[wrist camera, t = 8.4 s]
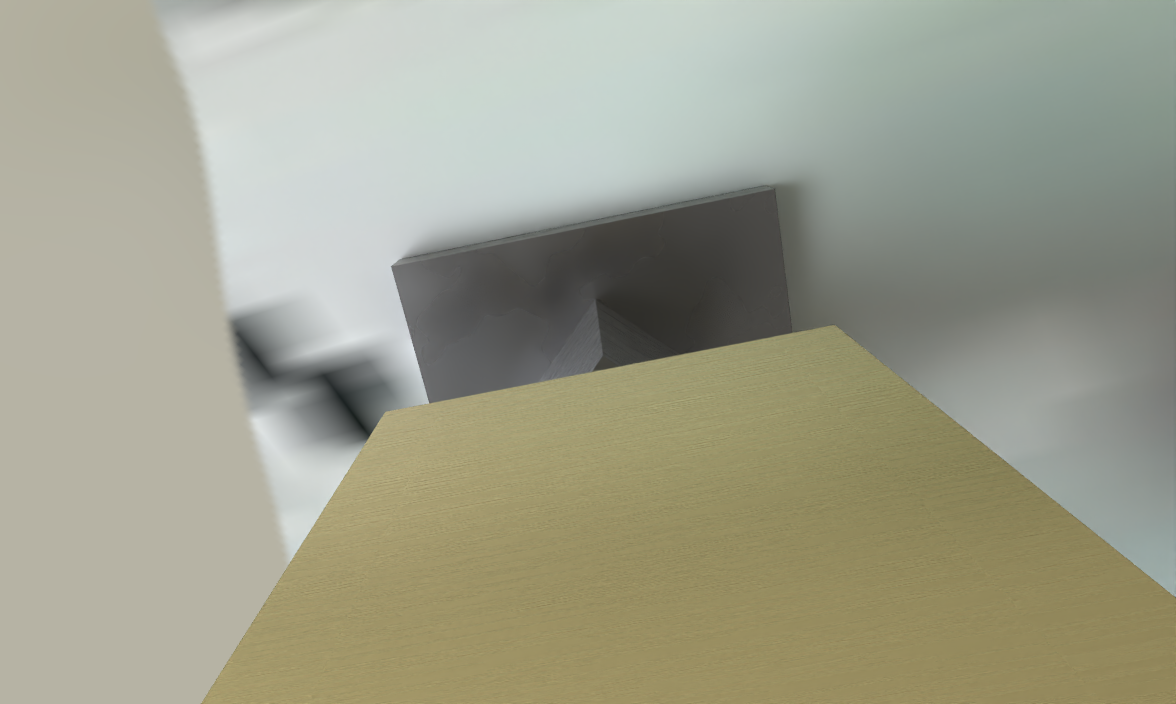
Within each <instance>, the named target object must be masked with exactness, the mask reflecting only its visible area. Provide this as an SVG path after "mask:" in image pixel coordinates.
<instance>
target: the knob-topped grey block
mask: <svg viewBox="0 0 1176 704" xmlns="http://www.w3.org/2000/svg"><path fill="white" fill-rule="evenodd" d="M391 267H392V271H393V275H394V278H395V282H396V285H397V289H398V292H399V296H400V300H401V303H402V307H403V310H404V314H405V318H406V321H407V325H408V328H409V332H410V335H411V339H412V343H413V346H414V350H415V353H416V357H417V361H418V364H419V368H420V371H421V375H422V378H423V382H424V386H425V389H426V393H427V396H428V400H429V403H434V402H440V401H445V400H450V399H455V398H460V397H465V396H471V395H476V394H481V393H486V392H491V391H496V390H501V389H507V388H512V387H517V386H522V385H527V384H532V383H538V382H543V381H548V380H553V379H558V378H563V377H568V376H574V375H579V374H584V373H589V372H594V371H599V370H605V369H610V368H615V367H620V366H625V365H630V364H635V363H641V362H646V361H651V360H656V359H661V358H666V357H672V356H677V355H682V354H687V353H692V352H697V351H702V350H708V349H713V348H718V347H723V346H728V345H733V344H739V343H744V342H749V341H754V340H759V339H764V338H769V337H775V336H780V335H785V334H790V333H792V326H791V318H790V310H789V302H788V294H787V285H786V277H785V269H784V261H783V253H782V245H781V236H780V228H779V220H778V212H777V204H776V196H775V189H774V188H771V187H768V186H760V187H755V188H750V189H745V190H741V191H736V192H731V193H726V194H721V195H716V196H711V197H706V198H701V199H696V200H691V201H686V202H681V203H676V204H671V205H667V206H662V207H657V208H652V209H647V210H642V211H637V212H632V213H627V214H622V215H617V216H612V217H607V218H602V219H597V220H592V221H588V222H583V223H578V224H573V225H568V226H563V227H558V228H553V229H548V230H543V231H538V232H533V233H528V234H523V235H518V236H513V237H509V238H504V239H499V240H494V241H489V242H484V243H479V244H474V245H469V246H464V247H459V248H454V249H449V250H444V251H439V252H435V253H430V254H425V255H420V256H415V257H410V258H405V259H400V260H398V261H397V262H396V263H395V264H394V265H392V266H391Z"/></svg>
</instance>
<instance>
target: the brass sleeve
mask: <svg viewBox="0 0 1176 704" xmlns="http://www.w3.org/2000/svg"><path fill="white" fill-rule="evenodd" d="M201 704H1176V598H1175V597H1174V596H1173V595H1172V594H1170V593H1169V592H1168V591H1167V590H1165V589H1164V588H1163V587H1162V586H1160V585H1159V584H1158V583H1157V582H1155V581H1154V580H1153V579H1152V578H1150V577H1149V576H1148V575H1147V574H1145V573H1144V572H1143V571H1142V570H1140V569H1139V568H1138V567H1137V566H1135V565H1134V564H1133V563H1132V562H1130V561H1129V560H1128V559H1127V558H1125V557H1124V556H1123V555H1122V554H1120V553H1119V552H1118V551H1117V550H1115V549H1114V548H1113V547H1112V546H1110V545H1109V544H1108V543H1107V542H1105V541H1104V540H1103V539H1102V538H1100V537H1099V536H1098V535H1097V534H1095V533H1094V532H1093V531H1092V530H1090V529H1089V528H1088V527H1087V526H1085V525H1084V524H1083V523H1082V522H1080V521H1079V520H1078V519H1077V518H1075V517H1074V516H1073V515H1072V514H1070V513H1069V512H1068V511H1067V510H1065V509H1064V508H1063V507H1062V506H1060V505H1059V504H1058V503H1057V502H1055V501H1054V500H1053V499H1052V498H1050V497H1049V496H1048V495H1047V494H1045V493H1044V492H1043V491H1042V490H1040V489H1039V488H1038V487H1037V486H1035V485H1034V484H1033V483H1032V482H1030V481H1029V480H1028V479H1027V478H1025V477H1024V476H1023V475H1022V474H1020V473H1019V472H1018V471H1017V470H1015V469H1014V468H1013V467H1012V466H1010V465H1009V464H1008V463H1007V462H1005V461H1004V460H1003V459H1002V458H1000V457H999V456H998V455H997V454H995V453H994V452H993V451H992V450H990V449H989V448H988V447H987V446H985V445H984V444H983V443H982V442H980V441H979V440H978V439H977V438H975V437H974V436H973V435H972V434H970V433H969V432H968V431H967V430H965V429H964V428H963V427H962V426H960V425H959V424H958V423H957V422H955V421H954V420H953V419H952V418H950V417H949V416H948V415H947V414H945V413H944V412H943V411H942V410H940V409H939V408H938V407H937V406H935V405H934V404H933V403H932V402H930V401H929V400H928V399H927V398H925V397H924V396H923V395H922V394H920V393H919V392H918V391H917V390H915V389H914V388H913V387H912V386H910V385H909V384H908V383H907V382H905V381H904V380H903V379H902V378H900V377H899V376H898V375H897V374H895V373H894V372H893V371H892V370H890V369H889V368H888V367H887V366H885V365H884V364H883V363H882V362H880V361H879V360H878V359H877V358H875V357H874V356H873V355H872V354H870V353H869V352H868V351H867V350H865V349H864V348H863V347H862V346H860V345H859V344H858V343H857V342H855V341H854V340H853V339H852V338H850V337H849V336H848V335H847V334H845V333H844V332H843V331H842V330H840V329H839V328H838V327H837V326H835V325H831V326H826V327H821V328H816V329H811V330H806V331H800V332H795V333H790V334H785V335H780V336H775V337H769V338H764V339H759V340H754V341H749V342H744V343H739V344H733V345H728V346H723V347H718V348H713V349H708V350H702V351H697V352H692V353H687V354H682V355H677V356H672V357H666V358H661V359H656V360H651V361H646V362H641V363H635V364H630V365H625V366H620V367H615V368H610V369H605V370H599V371H594V372H589V373H584V374H579V375H574V376H568V377H563V378H558V379H553V380H548V381H543V382H538V383H532V384H527V385H522V386H517V387H512V388H507V389H501V390H496V391H491V392H486V393H481V394H476V395H471V396H465V397H460V398H455V399H450V400H445V401H440V402H434V403H429V404H424V405H419V406H414V407H409V408H403V409H398V410H393V411H388V412H385V413H384V415H383V417H382V418H381V420H380V421H379V423H378V425H377V426H376V428H375V429H374V431H373V432H372V434H371V436H370V437H369V439H368V440H367V442H366V443H365V445H364V447H363V448H362V450H361V451H360V453H359V455H358V456H357V458H356V459H355V461H354V462H353V464H352V466H351V467H350V469H349V470H348V472H347V474H346V475H345V477H344V478H343V480H342V481H341V483H340V485H339V486H338V488H337V489H336V491H335V493H334V494H333V496H332V497H331V499H330V500H329V502H328V504H327V505H326V507H325V508H324V510H323V512H322V513H321V515H320V516H319V518H318V519H317V521H316V523H315V524H314V526H313V527H312V529H311V531H310V532H309V534H308V535H307V537H306V538H305V540H304V542H303V543H302V545H301V546H300V548H299V550H298V551H297V553H296V554H295V556H294V557H293V559H292V561H291V562H290V564H289V565H288V567H287V569H286V570H285V572H284V573H283V575H282V577H281V578H280V580H279V581H278V583H277V585H276V586H275V588H274V589H273V591H272V592H271V594H270V595H269V597H268V599H267V600H266V602H265V604H264V605H263V607H262V608H261V610H260V611H259V613H258V614H257V616H256V618H255V619H254V621H253V622H252V624H251V626H250V627H249V629H248V630H247V632H246V634H245V635H244V637H243V638H242V640H241V641H240V643H239V645H238V646H237V648H236V649H235V651H234V653H233V654H232V656H231V658H230V659H229V661H228V662H227V664H226V665H225V667H224V668H223V670H222V671H221V673H220V675H219V676H218V678H217V679H216V681H215V683H214V684H213V686H212V687H211V689H210V690H209V692H208V694H207V695H206V697H205V698H204V700H203V702H202V703H201Z"/></svg>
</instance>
